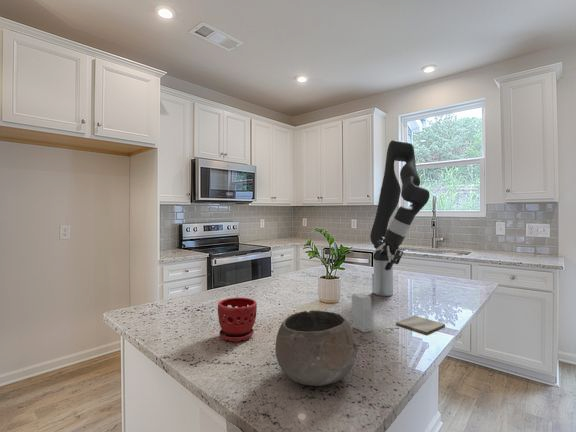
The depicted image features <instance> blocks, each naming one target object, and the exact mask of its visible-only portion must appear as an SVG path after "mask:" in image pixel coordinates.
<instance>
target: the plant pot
mask: <svg viewBox="0 0 576 432" xmlns="http://www.w3.org/2000/svg"><path fill="white" fill-rule="evenodd" d="M229 306H231V307H229ZM257 307H258V303H257V301H256V300H255V299H252V298H248V297H231V298H224V299H222V300H220V301H219V302H218V303H217V316H218V318H217V319H218V323H219V326H220V330H219V333H218V334H219V336H220V338H222V339H223V340H224V339H225V340H224V341H226V340H229V341H228V342H242V341H241V340H243V341H246V340H249V339H250V338H251V337H252V336H253V335H254V331H255V330H254V328H253V327H254V325H255V323H256V318H257V310H258V309H257ZM245 339H246V340H245Z"/></svg>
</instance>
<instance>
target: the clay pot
mask: <svg viewBox="0 0 576 432" xmlns="http://www.w3.org/2000/svg"><path fill="white" fill-rule="evenodd" d="M274 349H275V358H276V361H277V363H278V365H279V368H280V369H281V371H282V372H283V373H284V375H286V377H288V378H289V380H290V379H291V380H292V381H293V382H294V383H297V384H301V385H304V386H311V387H312V386H314V387H318V386H322V387H323V386H326V385H330V384H334V383H336V382H339V381H340V380H341V379H343V378H344V377H345V376H346V375H347V374H348V373H349V372H350V371H351V369H352V368H353V367H354V364H355V362H356V359H357V353H358V352H359V345H358V344H357V341H356V337H355V334H354V332H353V329H352V327H351V324H350V323H349V322H348V320H347V319H346V318H345V317H344V316H343V315H341V314H339V313H336V312H333V311H332V312H331V311H324V310H312V309H311V310H309V311H307V310H303V311H300V312H296V313H293V314H291V315H289V316H287V317H286V318H285V319H284V320H283V322H282V323H281V324H280V326H279V328H278V332H277V335H276V340H275V348H274Z"/></svg>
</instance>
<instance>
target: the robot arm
mask: <svg viewBox="0 0 576 432" xmlns="http://www.w3.org/2000/svg"><path fill="white" fill-rule="evenodd" d="M395 162H403V163H404V162H405V164H403V166H402V168H401V169H400V172H399V173H400V176H399V177H400V180H401V183H402V184H401V185H402V186H401V185H400V183H399V180H398V178H397V175H396V172H395ZM416 163H417V162H416V156H415V147H414V145H413V144H412V142H409V141H403V140H394V139H393V140H390V141H389V144H388V147H387V150H386V158H385V165H384V172H383V178H382V183H381V187H380V193H379V199H378V204H377V209H376V214H375V216H374V217H375V218H374V221H373V225H372V227H371V231H370V235H369V236H370V238H369V239H370V241H371V244H372V245H373V248H374V249H375V252H374V253H373V255H372V256H373V258H372V259H373V273H372V274H371V281H372V283H371V285H372V286H371V287H372V289H371V290H372V293H373V294H374V295H377V296H381V297H389V296H393V295H394V265H399V263H400V261H401V259H402V257H403V254H404V250H401V249H399V247H400V246H401V245H402V244H403V242H404V241H405V238H406V236H407V234H408V232H409V230H410V228H411V224H412V223H413V221H414V219H415V217H416V216H417V215H418V213H419V212H420V211H422V209H423V207H425V206H426V205H427V203H428V202H429V200H430V191H429V190H428V189H426V188H425V187H421V186H420V185H421V178H420V176H419V173H418V170H417V166H416ZM400 197H401V198H402V199H403V200H404V201H406V202H409V203H411V204H410V205H408V206H404V205H401V206H399V207H398V209H397V206H398V205H399V202H400ZM396 209H397V211H396V213H395V212H394V211H395V210H396ZM394 213H395V215H394V217H393V219H392V220H391V222H390V219H391V217H392V215H393V214H394ZM389 222H390V223H389Z"/></svg>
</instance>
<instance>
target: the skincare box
mask: <svg viewBox="0 0 576 432" xmlns="http://www.w3.org/2000/svg"><path fill="white" fill-rule="evenodd" d="M351 305H352V307H351V308H352V309H351V310H352V311H351V312H352V327H353V329H356V330H359V331H360V332H362V333H368V332H372V331H373V318H372V317H373V316H372V315H373V313H372V311H373V310H372V296H370V295H366V294H364V293H361V292H358V293H352V294H351Z"/></svg>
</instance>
